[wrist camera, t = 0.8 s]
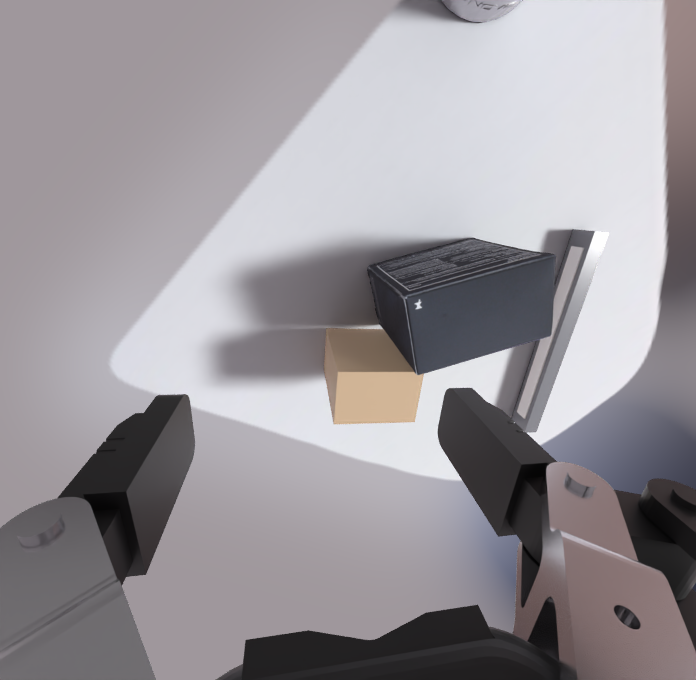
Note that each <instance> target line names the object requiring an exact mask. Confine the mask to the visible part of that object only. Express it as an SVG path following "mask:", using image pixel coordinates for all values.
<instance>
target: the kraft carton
mask: <svg viewBox="0 0 696 680" xmlns="http://www.w3.org/2000/svg"><path fill="white" fill-rule="evenodd" d="M324 373H325V378H326V384H327V389H328V395H329V400H330V406H331V411H332V417H333V422H334V424H361V423H396V422H415V417H416V412H417V407H418V401H419V396H420V391H421V386H422V380H423V375H424V374H421V375H416V374H415V372H414V370H413V369H412V368H411V366H410V365H409V363H408V362H407V361H406V359H405V358H404V357H403V355H402V354H401V353H400V351H399V350H398V348H397V347H396V346H395V344H394V343H393V341H392V340H391V339H390V337H389V336H388V335H387V333H386V332H385V330H384V329H343V328H326V343H325V359H324Z"/></svg>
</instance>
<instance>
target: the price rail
mask: <svg viewBox="0 0 696 680" xmlns="http://www.w3.org/2000/svg"><path fill="white" fill-rule="evenodd" d="M608 235H609V233H608V232H597V231H586V230H574V229H573V231H572V234H571V237H570V240H569V243H568V246H567V249H566V252H565V256H564V259H563V262H562V265H561V268H560V271H559V274H558V277H557V280H556V283H555V286H554V303H553V324H552V334H551V336H550V337H546V338H543V339H540V340H537V342H536V345H535V348H534V351H533V354H532V357H531V360H530V363H529V366H528V369H527V372H526V375H525V379H524V382H523V385H522V388H521V391H520V394H519V397H518V400H517V403H516V406H515V409H514V412H513V415H512V420H513V421H514V422H515V423H516V424H517V425H518V426H519V427H520V428H522V429H523V431H524V432H536V431H537V428H538V426H539V423H540V420H541V418H542V415H543V412H544V409H545V407H546V404H547V401H548V398H549V396H550V393H551V390H552V388H553V385H554V382H555V379H556V377H557V374H558V371H559V368H560V366H561V363H562V360H563V358H564V355H565V352H566V349H567V347H568V344H569V341H570V338H571V336H572V333H573V330H574V327H575V325H576V322H577V319H578V317H579V314H580V311H581V308H582V306H583V303H584V300H585V297H586V295H587V292H588V289H589V287H590V284H591V281H592V278H593V276H594V273H595V270H596V267H597V265H598V262H599V259H600V257H601V254H602V251H603V248H604V246H605V243H606V240H607V237H608Z"/></svg>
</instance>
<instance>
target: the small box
mask: <svg viewBox="0 0 696 680" xmlns="http://www.w3.org/2000/svg"><path fill="white" fill-rule="evenodd" d="M555 260H556V255H554V254H550V253H541V252H533V251H528V250H522V249H518V248H515V247H509V246H505V245H500V244H496V243H491V242H486V241H483V240H479V239H476V238H470V239H466V240H462V241H458V242H455V243H451V244H447V245H443V246H439V247H436V248H432V249H428V250H425V251H421V252H417V253H413V254H409V255H405V256H402V257H398V258H395V259H391V260H388V261H384V262H381V263H377V264H374V265H369V267H368V269H367V271H368V275H369V278H370V284H371V286H372V290H373V292H372V293H373V296H374V302H375V306H376V309H375V310H376V313H377V317H378V319H379V324H380V325H381V326H382V328H383V329H384V330H385V332H386V333H387V335H388V336H389V337H390V339H391V340H392V341H393V343H394V344H395V346H396V347H397V348H398V350H399V351H400V353H401V354H402V355H403V357H404V358H405V359H406V361H407V362H408V363H409V365H410V366H411V368H412V369H413V370H414V372H415V374H416V375H421V374H424V373H428V372H431V371H434V370H438V369H441V368H445V367H448V366H451V365H454V364H458V363H461V362H464V361H468V360H471V359H475V358H478V357H481V356H485V355H488V354H492V353H495V352H498V351H502V350H505V349H509V348H512V347H515V346H519V345H522V344H526V343H529V342H533V341H536V340H540V339H543V338H546V337H550V336H551V334H552V324H553V303H554V282H555Z"/></svg>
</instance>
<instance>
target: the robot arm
mask: <svg viewBox="0 0 696 680" xmlns="http://www.w3.org/2000/svg"><path fill="white" fill-rule="evenodd" d="M441 1H442V2H443V3H444V4H445V5H446V7H447V8H448V9H449V10H451V11H452V12H453V13H455V14H456V15H458V16H459V17H461V18H464V19H466V20H469V21H473V22H487V21H491V20H495V19H498V18H500V17H501V16H503V15H505V14H507V13H509V12H510V11H511V10H512V9H513V8H514V7H516V6H517V5H518V4H519V3H520V2H521V1H522V0H441ZM438 438H439V442H440V445H441V447H442V449H443V450H444V452H445V454H446V455H447V457H448V458H449V460H450V461H451V463H452V465H453V466H454V468H455V469H456V471H457V472H458V474H459V476H460V477H461V479H462V480H463V482H464V483H465V485H466V486H467V488H468V490H469V491H470V493H471V494H472V496H473V497H474V499H475V501H476V502H477V504H478V505H479V507H480V508H481V510H482V511H483V513H484V515H485V516H486V518H487V519H488V521H489V523H490V524H491V525H492V527H493V529H494V530H495V532H496V534H497V535H498V536H507V535H517V536H518V537H519V539H520V540H521V541H520V543H519V546H518V551H517V575H516V577H517V578H516V602H515V621H514V628H513V633H512V634H511V633H509V632H506V631H503V630H499V629H496V628H493V627H488V625H487V623H486V621H485V619H484V617H483V615H482V612H481V610H480V608H479V606H478V605H474V606H468V607H461V608H454V609H448V610H441V611H435V612H428V613H425V614H423V615H421V616H419V617H417V618H416V619H414V620H412V621H410V622H408V623H406V624H404V625H402V626H400V627H399V628H397V629H395V630H393V631H391V632H389V633H387V634H385V635H384V636H382V637H380V638H378V639H375V640H363V639H356V638H351V637H344V636H339V635H332V634H326V633H320V632H313V631H302V632H296V633H289V634H282V635H276V636H269V637H263V638H256V639H250V640H246V643H245V652H244V660H243V664H242V665H240V666H238V667H236V668H234V669H232V670H230V671H229V672H227V673H226V674H224V675H222V676H221V677H219V678H218V679H217V680H696V592H695V591H694V590H693V589H692V587H693V586H694V584H695V583H696V490H695V489H693V488H691V487H689V486H686V485H683V484H681V483H678V482H675V481H671V480H666V479H652V480H650V481H648V483H647V485H646V487H645V489H644V491H643V493H642V495H640V494H634V493H629V492H623V491H618V490H613V488H612V487H611V486H610V485H609V484H608V483H607V482H606V481H605V480H603V479H602V478H601V477H600V476H598V475H597V474H595V473H593V472H591V471H590V470H588V469H585V468H583V467H581V466H578V465H575V464H572V463H567V462H557V461H556V460H555V459H553V458H552V457H551V456H550V455H549V454H548V453H547V452H546V451H545V450H543V448H542V447H541V446H540V445H539V444H538V443H536V442H535V441H534V440H533V439H532V438H531V437H530V436H529V435H528V434H527V433H526V432H523V429H522V428H520V427H519V426H518V425H517V424H516V423H514V421H513V420H512V419H511V418H510V417H509V416H508V415H507V414H506V413H504V412H503V411H502V410H500V409H499V408H497V407H495V406H493V405H492V404H490V403H488V402H486V401H485V400H484V399H483V398H482V397H481V396H480V395H479V394H478V393H477V392H476V391H475V390H473V389H472V388H449V389H447V390H446V392H445V395H444V400H443V405H442V410H441V415H440V420H439V425H438ZM194 448H195V438H194V430H193V422H192V414H191V406H190V400H189V397H188V395H186V394H183V395H158V396H156V397H155V399H154V400H153V401H152V403H151V404H150V405H149V407H148V408H147V409H146V411H145V412H144V413H135V414H134V415H132V416H131V417H129V418H128V419H126V420H125V421H123V422H122V423H120V424H119V425H117V426H116V428H115V429H114V430H113V431H112V433H111V434H110V435H109V436H108V437H107V439H106V442H103V443H102V445H101V446H100V447H99V448H98V449H97V452H96V454H93V456H92V457H91V458H90V459H89V460H88V462H87V463H86V464H85V465H84V466H83V468H82V469H81V470H80V471H79V472H78V474H77V475H76V476H75V477H74V479H73V480H72V481H71V482H70V483H69V485H68V486H67V487H66V488H65V490H64V491H63V492H62V493H61V495H60V496H59V497H58V498H57V499H53V500H50V501H46V502H44V503H41V504H38V505H36V506H34V507H32V508H29V509H28V510H26V511H24V512H22V513H20V514H19V515H17V516H16V517H14V518H13V519H11V520H10V521H8V522H7V523H6V524H5V525H3V526H2V527H1V528H0V680H156V678H155V675H154V673H153V670H152V667H151V665H150V662H149V659H148V656H147V654H146V651H145V648H144V646H143V643H142V640H141V638H140V635H139V632H138V629H137V626H136V624H135V621H134V618H133V615H132V613H131V610H130V607H129V604H128V602H127V599H126V596H125V594H124V591H123V588H122V584H123V582H124V580H125V578H126V577H129V576H138V575H146V573H147V570H148V568H149V566H150V563H151V561H152V558H153V556H154V553H155V551H156V548H157V546H158V544H159V541H160V539H161V536H162V534H163V531H164V529H165V526H166V524H167V521H168V519H169V516H170V514H171V511H172V509H173V507H174V504H175V502H176V499H177V497H178V494H179V492H180V489H181V487H182V484H183V482H184V479H185V477H186V474H187V472H188V470H189V467H190V464H191V462H192V459H193V455H194Z"/></svg>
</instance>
